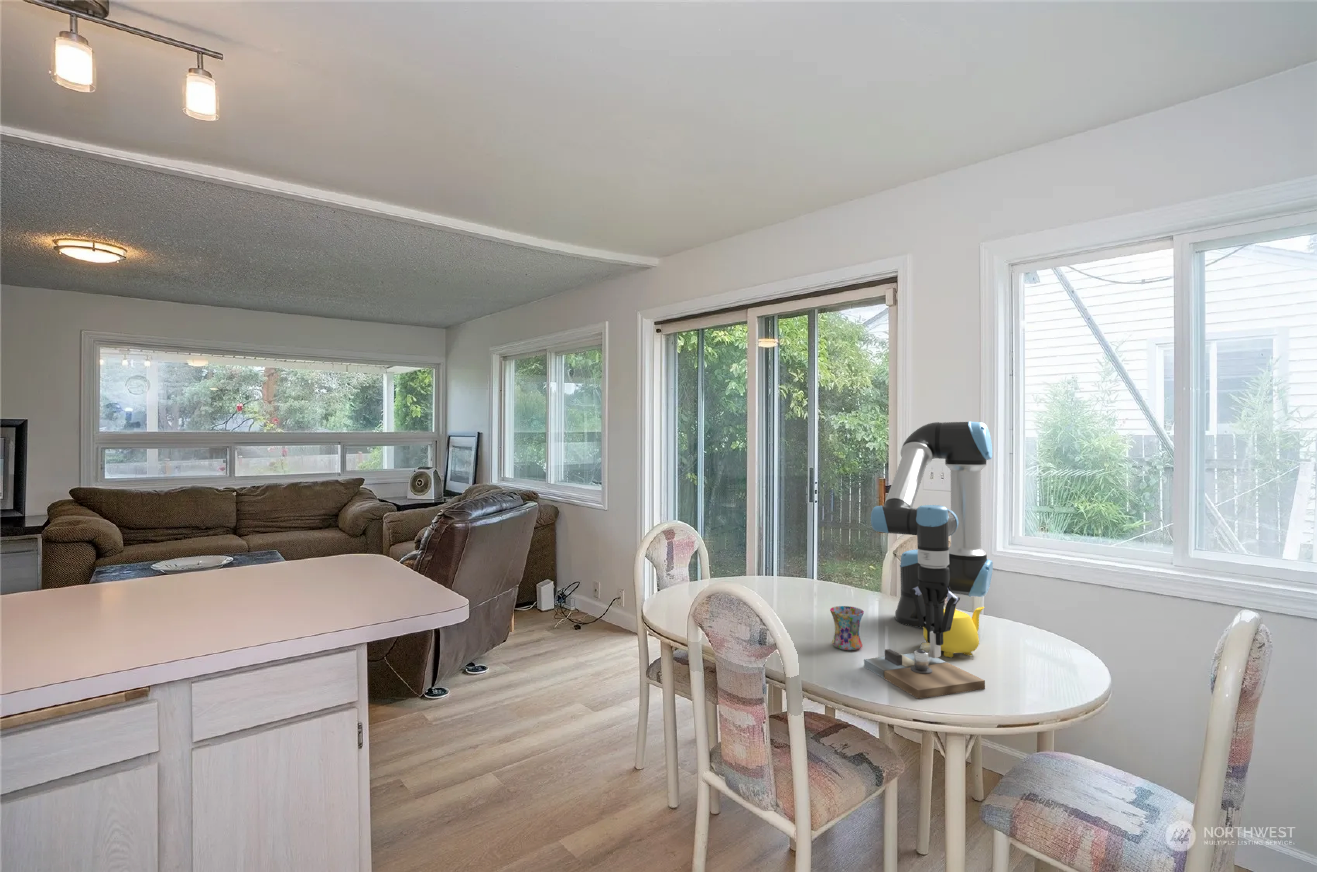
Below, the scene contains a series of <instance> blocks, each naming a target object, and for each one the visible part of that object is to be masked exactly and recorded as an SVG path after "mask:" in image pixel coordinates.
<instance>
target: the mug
mask: <svg viewBox="0 0 1317 872" xmlns="http://www.w3.org/2000/svg"><path fill="white" fill-rule="evenodd" d="M829 611H830V613H831V616H832V620H833V623H834V635H833V639H832V641H831V645H832V646H833V647H835V648H837V649H839V650H843V651H857V650H860V649H862V648H863V643H862V640H861V636H860V624H861V621H862V618H863V616H864V613H865V610H863V609H861V608H859V607H856V606H848V605H839V606H838V605H837V606H832V607H831V608H829Z"/></svg>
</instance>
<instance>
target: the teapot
mask: <svg viewBox="0 0 1317 872" xmlns="http://www.w3.org/2000/svg"><path fill="white" fill-rule="evenodd" d="M945 608H946V606H944V613H945ZM984 609H985V606H979V607H977V608H975V610H974V611H973V613H972V616H970V614H968V613H966V612H963V611H960V610H958V609H957V607H956V608H955V612H954V617H953V621H952V625H951V629H950V631H947V632H943V645H941V652H943V657H945V658H954V654H963V655H965V656H970V657H971V656H973V652H975V651H976V650H977V648H978V647H979V645H980V639H979V632H978V631H979V628H980V615H981V612H982V611H983V610H984ZM922 633H923V634H922V635H923V638H924V640H925V642H926V643H928V641H927V630H926V628H924V627H923V632H922ZM929 644H930V643H929Z"/></svg>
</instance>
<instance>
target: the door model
mask: <svg viewBox="0 0 1317 872" xmlns="http://www.w3.org/2000/svg"><path fill="white" fill-rule="evenodd" d="M863 667H864V668H865V669H867V670H869V671H870V672H872V673H874V674H875V675H876V676H877V675H878V676H879V677H880V678H882V679H884V680H886V681H887V682H889V683H890V684H893V685H894V686H896V687H897V688H899V689H900V690H902V691H904V692H906V693H908V694H910V695H911V696H913V697H914V698H915V699H918V700H920V699H927V698H933V697H940V696H945V695H953V694H960V693H967V692H973V691H979V690H986V680H985V679H982V678H981V677H979V676H976V675H974V674H972V673H970V672H968V671H966V670H964V669H962V668H960V667H957V666H956V665H953V664H952V663H949V662H947V661H945V660H943V659H941V658H940V657H938V658H931V660H930V662H929V665H928V670H918V669H916V668H915V667H914V652H912V653H911V652H910V653H905V654H903V653H902V654H901V653H898V652H896V651H895V650H893V649H891V648H889V649H888V648H887V649H884V656H881V657H878V656H877V657H873V658H872V657H871V658H864V659H863Z"/></svg>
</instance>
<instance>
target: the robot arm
mask: <svg viewBox="0 0 1317 872" xmlns="http://www.w3.org/2000/svg"><path fill="white" fill-rule="evenodd" d="M900 456H901V459H900V461H899V464H898V466H897V470H896V473H895V474H894V477H893V480H892V483H891V485H890V487H889V491H888V494H887V496H886V499H885V501H884V504H883V505H875V506H874V507H873V508H872V510H871V514H870V523H871V528H872V529H873V531H875V532H877V533H878V532H879V533H883V534H893V535H894V534H895V535H896V534H897V535H910V536H916V537H917V543H916V544H917V549H916V548H915V549H909V550H906V551H904V552H902V553H901V555H900V564H899V567H900V571H899V572H900V598H899V600H898V603H897V607H896V610H895V613H894V617H895V618H894V619H895V621H896V622H898V623H900V624H902V625H905V626H907V627H908V626H909V627H915V628H921V629H922V628H923V627H924V628H926V630H927V641H928V643H930V657H932V658H940V657H941V656H942V651H941V645H943V632H947V631H950V629H951V625H952V621H953V617H954V612H955V608H956V609H957V604H958V603H959V602H960V599H961V597H960V596H967V597H975V598H976V597H978V598H983V597H985V596H987V594H988V592H989V590H990V587H991V582H992V575H993V567H994V565H993V564H994V562H993V560H990V558H988V556H987V552H986V551H985V550H984V549H983V548H982V470H983V469H984V468H985V467H986V466H987V461H989V460H992V458H993V445H992V438H991V433H990V430H989V428H988V426H987V424H986V423H984V422H980V421H952V422H949V421H948V422H946V421H945V422H938V421H937V422H929V423H927V424H924V425H922V426H920V427H919V428H917V429H916V430H914V431H912V433H911V434H910V435H909V436H908V437H907V438H906V439H905V441H904V442H903V444H902V446H901V449H900ZM934 459H940V460H944V461H945V462H944V463H945V466H947V468H948V469H949V470H950V509H949V508H947V506H944V505H941V504H938V505H936V504H925V505H919V506H918V507H917V508H916V507H913V506H914V503H915V501H916V498H917V494H918V491H919V489H920V485H921V483H922V480H923V476H924V474H925V470H926V468H927V466H928V465H930V464H931V462H932V460H934ZM949 537H950V543H949ZM949 544H950V546H949ZM945 607H946V608H945ZM944 609H945V613H944ZM924 628H923V629H924ZM927 641H926V642H927Z"/></svg>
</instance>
